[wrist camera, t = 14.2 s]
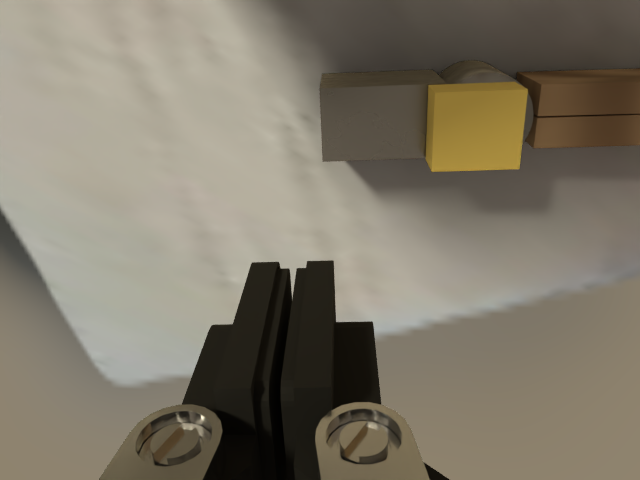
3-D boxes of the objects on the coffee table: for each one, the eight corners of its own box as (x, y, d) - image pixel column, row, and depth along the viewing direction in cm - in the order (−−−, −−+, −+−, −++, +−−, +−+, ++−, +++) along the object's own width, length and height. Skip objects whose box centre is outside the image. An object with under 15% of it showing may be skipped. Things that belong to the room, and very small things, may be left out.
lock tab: (425, 159, 28) (431, 171, 26) (428, 84, 26) (434, 92, 25) (507, 156, 28) (519, 169, 26) (515, 81, 26) (528, 89, 24)
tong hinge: (325, 145, 33) (323, 169, 29) (322, 66, 31) (319, 79, 27) (503, 138, 32) (528, 162, 28) (511, 58, 30) (538, 71, 26)
